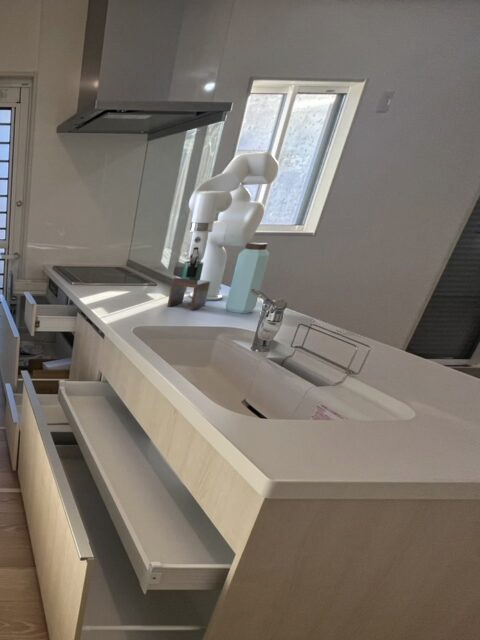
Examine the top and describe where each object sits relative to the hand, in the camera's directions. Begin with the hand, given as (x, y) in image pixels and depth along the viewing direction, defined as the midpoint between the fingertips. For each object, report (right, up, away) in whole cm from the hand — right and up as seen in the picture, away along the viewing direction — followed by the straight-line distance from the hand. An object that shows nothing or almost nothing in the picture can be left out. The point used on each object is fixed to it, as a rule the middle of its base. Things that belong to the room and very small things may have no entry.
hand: (191, 275), depth 162 cm
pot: (0, -1, +1) cm, 2 cm away
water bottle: (+18, -15, -2) cm, 23 cm away
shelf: (+1, -11, +6) cm, 13 cm away
